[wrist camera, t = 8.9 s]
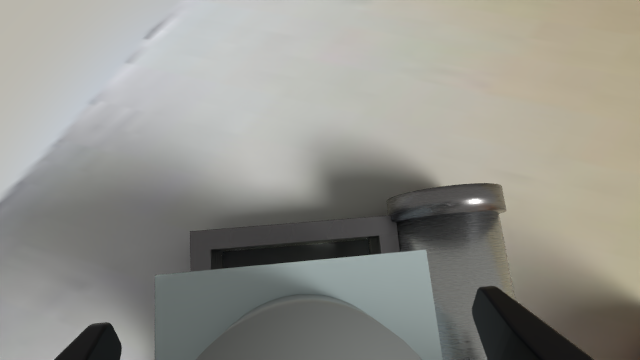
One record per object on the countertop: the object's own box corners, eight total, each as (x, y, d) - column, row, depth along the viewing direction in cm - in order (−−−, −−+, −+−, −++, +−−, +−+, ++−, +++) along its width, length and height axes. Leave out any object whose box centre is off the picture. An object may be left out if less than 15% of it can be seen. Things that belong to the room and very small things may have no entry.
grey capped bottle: (362, 375, 17) (550, 694, 4) (246, 389, 17) (85, 783, 4) (350, 258, 18) (471, 244, 6) (241, 268, 18) (100, 279, 5)
